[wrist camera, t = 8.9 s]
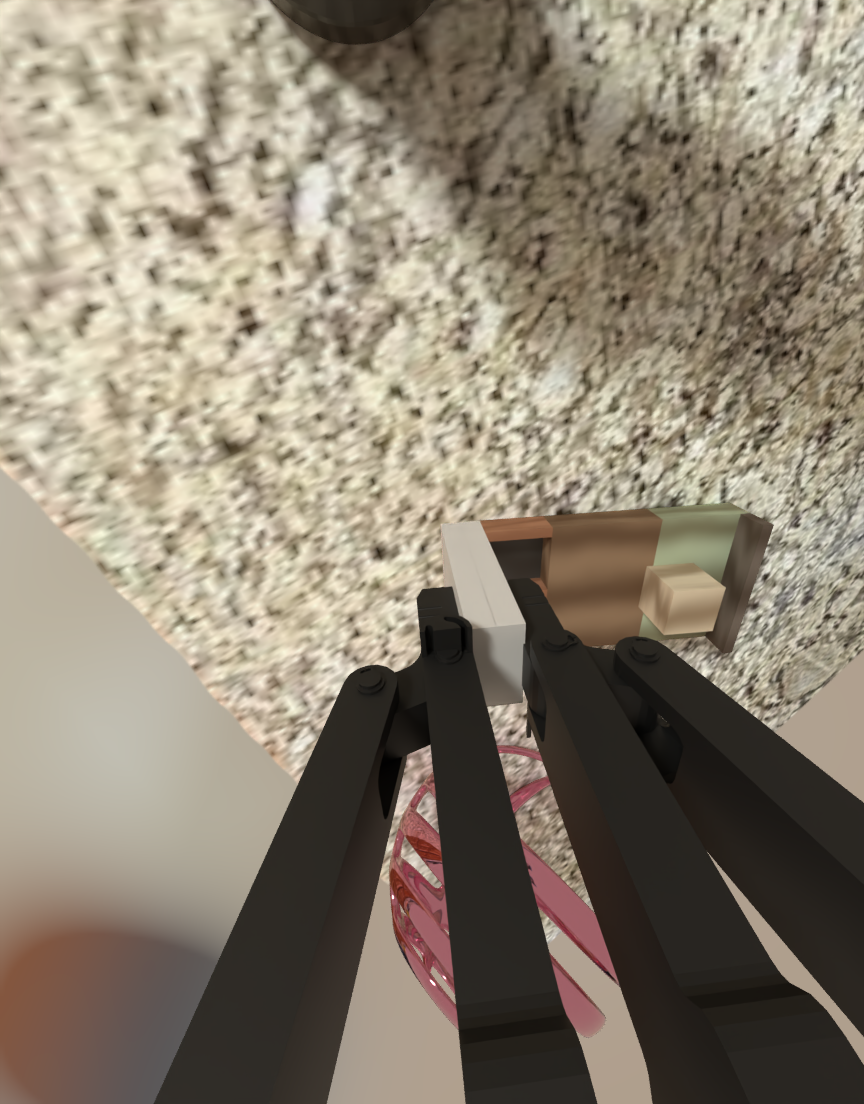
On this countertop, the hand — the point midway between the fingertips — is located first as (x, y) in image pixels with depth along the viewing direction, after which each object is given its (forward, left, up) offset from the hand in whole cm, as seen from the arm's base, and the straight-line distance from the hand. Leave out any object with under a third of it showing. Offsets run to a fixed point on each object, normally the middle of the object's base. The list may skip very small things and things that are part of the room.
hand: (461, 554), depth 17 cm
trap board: (+17, +18, -26) cm, 36 cm away
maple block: (+17, +25, -23) cm, 38 cm away
